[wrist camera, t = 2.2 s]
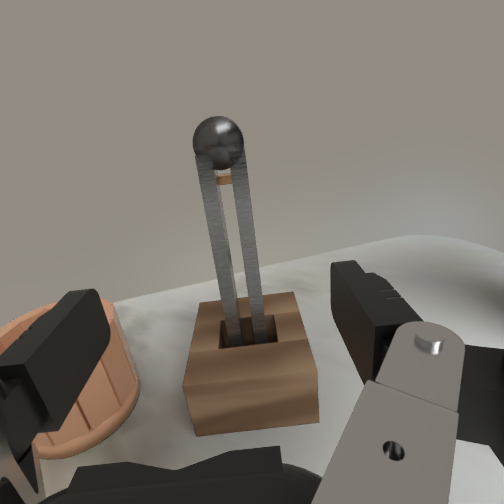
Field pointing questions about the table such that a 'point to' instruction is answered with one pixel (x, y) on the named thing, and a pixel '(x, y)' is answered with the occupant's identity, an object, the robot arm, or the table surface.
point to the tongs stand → (251, 370)
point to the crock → (88, 391)
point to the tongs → (208, 162)
